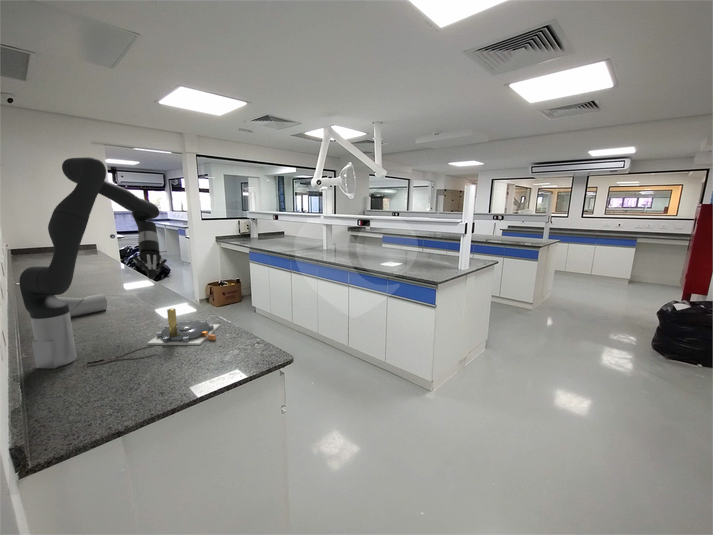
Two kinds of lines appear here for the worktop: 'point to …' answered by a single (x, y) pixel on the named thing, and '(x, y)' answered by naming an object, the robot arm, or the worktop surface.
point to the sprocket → (183, 329)
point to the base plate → (191, 342)
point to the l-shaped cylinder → (85, 304)
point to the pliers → (117, 358)
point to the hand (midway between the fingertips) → (152, 278)
